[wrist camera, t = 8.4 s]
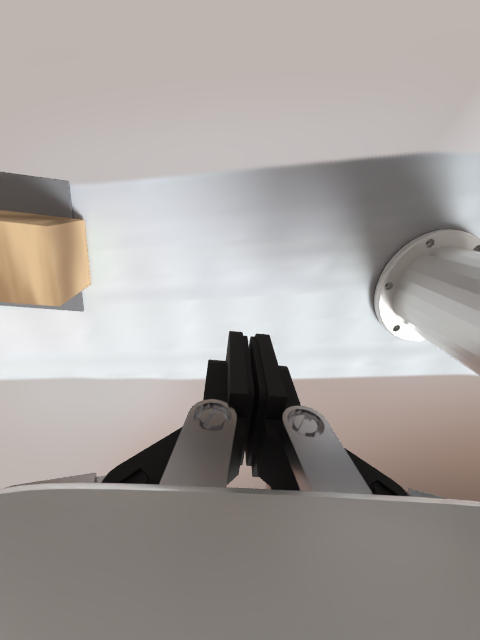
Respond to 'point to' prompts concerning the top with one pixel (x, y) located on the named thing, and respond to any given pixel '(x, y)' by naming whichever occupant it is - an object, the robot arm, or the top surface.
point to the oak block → (42, 258)
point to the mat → (38, 212)
